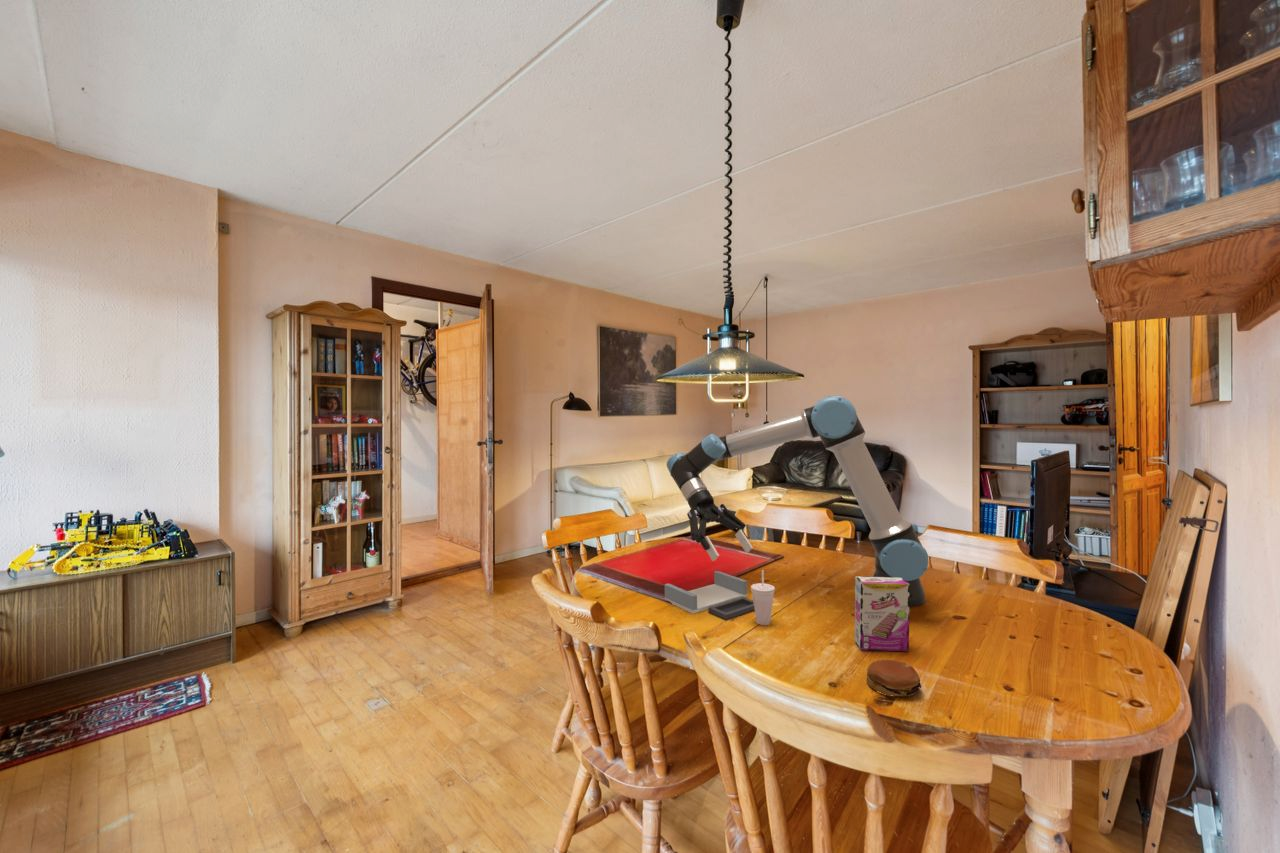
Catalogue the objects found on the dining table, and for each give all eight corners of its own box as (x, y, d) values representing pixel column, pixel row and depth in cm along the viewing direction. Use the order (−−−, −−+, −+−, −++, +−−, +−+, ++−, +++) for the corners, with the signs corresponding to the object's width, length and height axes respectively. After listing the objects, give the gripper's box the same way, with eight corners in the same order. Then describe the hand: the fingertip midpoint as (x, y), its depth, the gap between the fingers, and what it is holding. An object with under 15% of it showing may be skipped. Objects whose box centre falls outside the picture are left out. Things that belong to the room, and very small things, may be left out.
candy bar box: (861, 651, 119) (860, 582, 119) (854, 642, 124) (853, 575, 124) (910, 653, 118) (910, 583, 118) (902, 643, 123) (901, 576, 122)
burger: (857, 685, 104) (857, 662, 104) (882, 671, 110) (882, 650, 110) (906, 707, 96) (906, 683, 96) (929, 691, 102) (929, 668, 102)
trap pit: (760, 608, 146) (760, 603, 146) (726, 620, 138) (726, 615, 138) (742, 601, 152) (742, 596, 152) (708, 612, 144) (708, 607, 144)
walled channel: (747, 596, 156) (747, 580, 156) (693, 613, 143) (692, 596, 143) (717, 585, 167) (717, 570, 167) (664, 600, 154) (664, 584, 154)
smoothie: (776, 619, 139) (775, 568, 138) (774, 628, 132) (774, 575, 132) (752, 616, 141) (751, 566, 140) (749, 625, 135) (749, 573, 134)
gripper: (720, 499, 167) (756, 554, 155) (660, 508, 152) (694, 569, 140) (732, 484, 162) (769, 540, 150) (671, 492, 148) (707, 554, 136)
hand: (733, 554), depth 145 cm, fingers open, 13 cm apart
